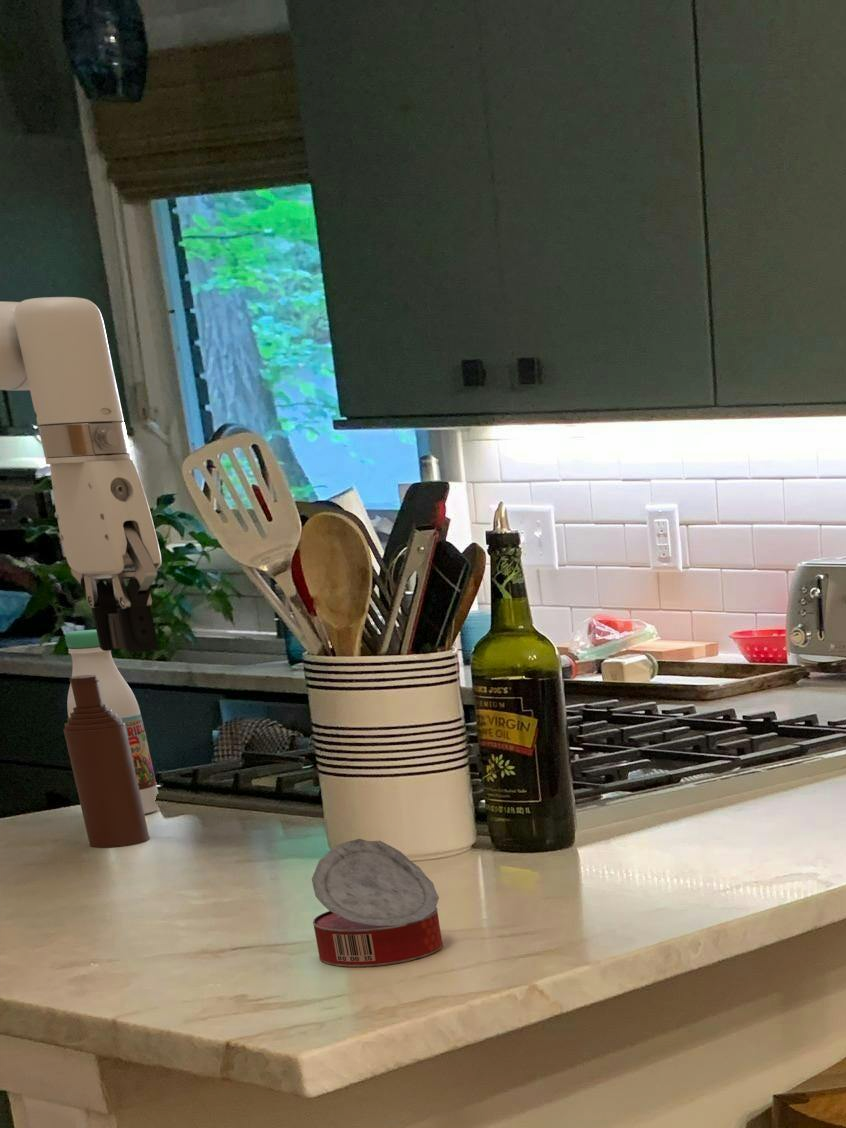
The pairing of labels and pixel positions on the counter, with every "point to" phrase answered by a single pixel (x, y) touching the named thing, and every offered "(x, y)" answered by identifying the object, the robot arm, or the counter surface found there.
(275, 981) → the counter surface
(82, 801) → the sauce bottle
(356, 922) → the canned food
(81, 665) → the milk bottle
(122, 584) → the robot arm
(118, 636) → the cap
